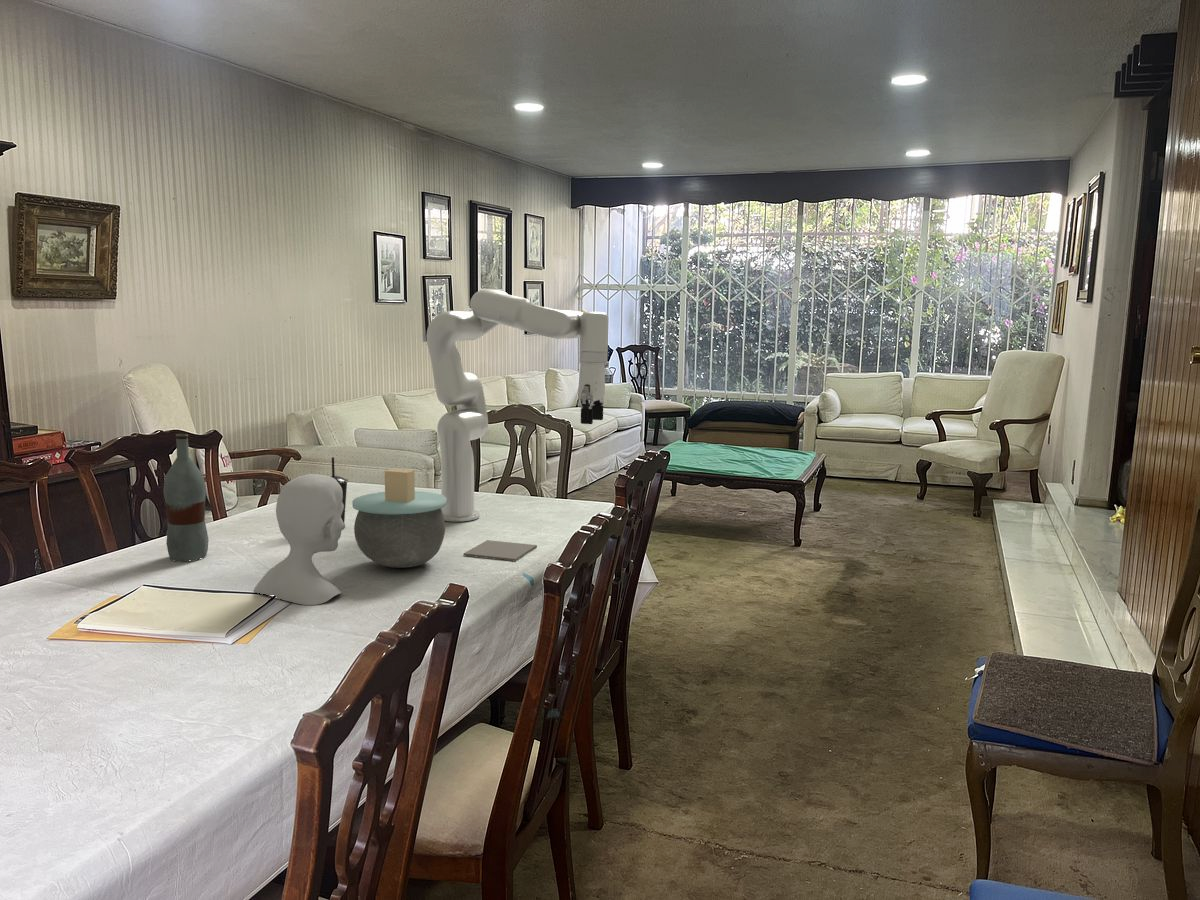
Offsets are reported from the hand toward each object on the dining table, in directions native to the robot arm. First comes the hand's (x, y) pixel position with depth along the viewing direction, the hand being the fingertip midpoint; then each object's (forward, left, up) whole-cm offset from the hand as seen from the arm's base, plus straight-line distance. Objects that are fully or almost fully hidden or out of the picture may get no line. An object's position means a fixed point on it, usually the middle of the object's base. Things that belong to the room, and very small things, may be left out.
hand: (592, 421), depth 240 cm
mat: (-15, -26, -31) cm, 43 cm away
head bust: (-41, -68, -31) cm, 86 cm away
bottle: (-83, -58, -31) cm, 106 cm away
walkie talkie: (-67, -21, -31) cm, 77 cm away
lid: (-32, -46, -16) cm, 59 cm away
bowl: (-32, -46, -31) cm, 64 cm away
